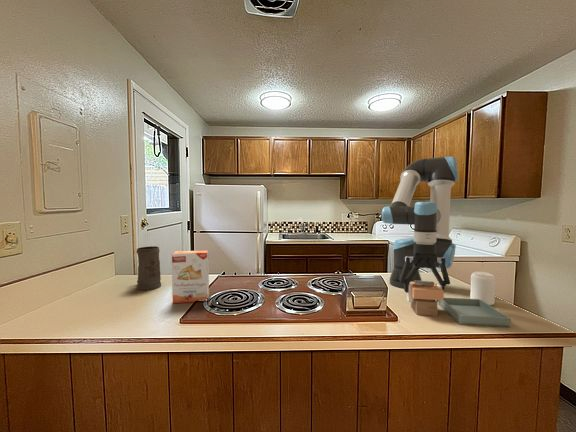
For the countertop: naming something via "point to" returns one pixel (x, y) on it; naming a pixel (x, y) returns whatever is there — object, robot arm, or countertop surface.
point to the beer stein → (148, 268)
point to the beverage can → (483, 287)
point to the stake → (424, 302)
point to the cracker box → (190, 276)
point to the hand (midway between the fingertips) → (423, 301)
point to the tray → (474, 312)
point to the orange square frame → (427, 292)
